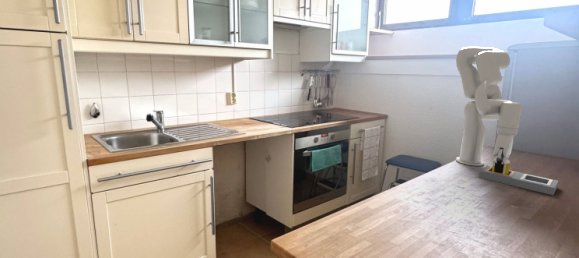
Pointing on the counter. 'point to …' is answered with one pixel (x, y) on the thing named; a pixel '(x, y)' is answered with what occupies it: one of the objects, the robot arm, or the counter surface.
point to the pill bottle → (506, 165)
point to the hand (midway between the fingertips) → (500, 170)
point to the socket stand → (521, 180)
